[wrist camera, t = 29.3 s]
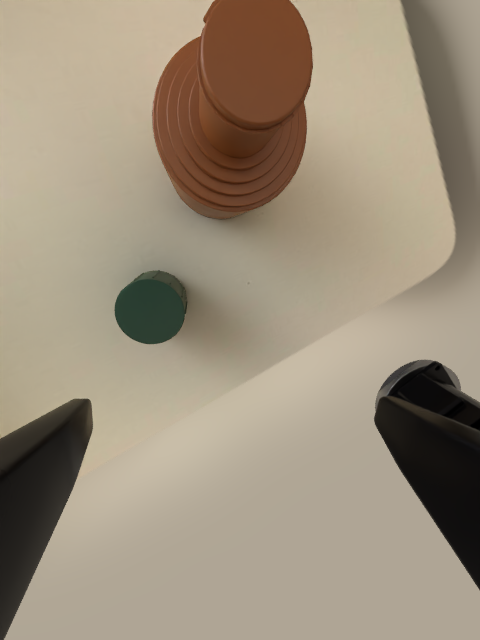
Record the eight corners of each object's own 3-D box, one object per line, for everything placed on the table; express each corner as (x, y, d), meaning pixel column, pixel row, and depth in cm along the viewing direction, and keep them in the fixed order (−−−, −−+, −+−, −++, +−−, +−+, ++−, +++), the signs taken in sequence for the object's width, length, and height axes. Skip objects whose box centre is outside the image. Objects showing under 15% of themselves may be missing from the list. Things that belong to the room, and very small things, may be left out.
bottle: (286, 157, 19) (428, 42, 7) (229, 238, 20) (277, 247, 8) (206, 81, 17) (230, -232, 5) (148, 175, 18) (65, 76, 6)
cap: (159, 258, 19) (152, 264, 16) (198, 302, 21) (198, 316, 17) (116, 295, 20) (99, 308, 16) (156, 335, 21) (148, 356, 17)
